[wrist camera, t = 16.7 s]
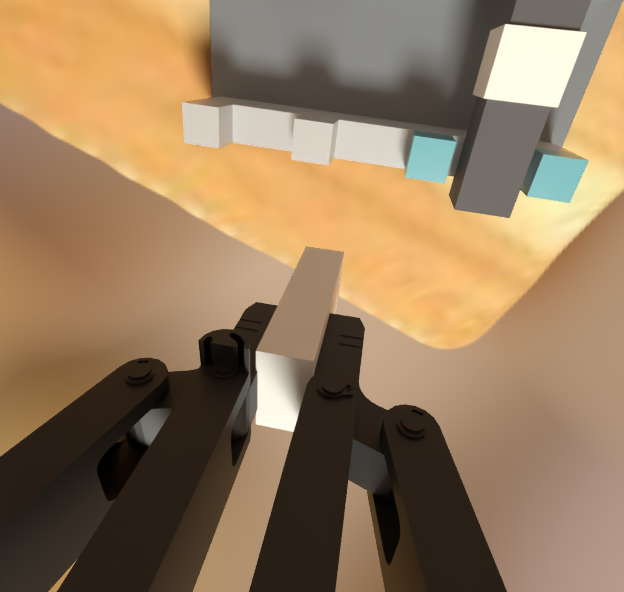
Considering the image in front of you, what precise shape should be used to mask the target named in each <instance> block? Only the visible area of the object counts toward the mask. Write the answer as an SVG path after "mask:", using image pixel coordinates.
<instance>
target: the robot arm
mask: <svg viewBox="0 0 624 592" xmlns="http://www.w3.org/2000/svg"><path fill="white" fill-rule="evenodd" d="M343 255H344V252H340V251H333V250H326V249H320V248H313V247H306V248H305V250H304V252H303V254H302V256H301V258H300V260H299V262H298V265H297V267H296V269H295V271H294V273H293V275H292V277H291V279H290V281H289V283H288V285H287V287H286V289H285V292H284V294H283V296H282V298H281V300H280V302H279V305H278V306H276V305H270V304H264V303H258V302H256V303H255V304H253V305H251V306H250V307H248V308H247V309H246V310H245V311H244V313H243V315H242V316H241V318H240V321H238V323H237V325H236V326H235V328H234V330H229V329H221V330H216V331H212V332H210V333H207V334H205V335H204V336H203V337H202V338H201V339H199V350H200V361H201V366H200V368H199V369H195V370H189V371H175V372H168V370H167V367H166V365H165V364H164V363H163V362H161V361H160V360H158V359H153V358H139V359H136V360H132V361H129V362H127V363H126V364H124V365H122V366H120V367H119V368H117V369H116V370H115V371H114V372H112V373H111V374H110V375H108V376H107V377H105V378H104V379H103V380H102V381H100V382H99V383H98V384H96V385H95V386H94V387H92V388H91V389H90V390H88V391H87V392H86V393H84V394H83V395H82V396H80V397H79V398H78V399H76V400H75V401H74V402H72V403H71V404H70V405H68V406H67V407H66V408H64V409H63V410H62V411H60V412H59V413H58V414H56V415H55V416H54V417H52V418H51V419H50V420H49V421H47V422H46V423H44V424H43V425H42V426H40V427H39V428H38V429H37V430H35V431H34V432H32V433H31V434H30V435H28V436H27V437H26V438H24V439H23V440H22V441H20V442H19V443H18V444H17V445H15V446H14V447H13V448H11V449H10V450H9V451H7V452H6V453H5V454H3V455H2V456H1V457H0V592H48V591H49V590H50V589H51V588H52V586H54V584H55V583H56V582H57V581H58V580H59V579H60V578H61V577H62V576H63V574H64V573H65V572H66V571H67V570H68V569H69V568H70V567H71V566H72V564H73V563H74V562H75V561H76V560H77V561H76V562H75V564H74V566H73V567H72V569H71V570H70V572H69V573H68V575H67V577H66V578H65V580H64V581H63V583H62V584H61V586H60V588H59V589H58V591H57V592H193V589H194V586H195V584H196V581H197V578H198V576H199V573H200V570H201V568H202V565H203V563H204V560H205V557H206V555H207V552H208V550H209V547H210V544H211V542H212V539H213V536H214V534H215V531H216V528H217V525H218V523H219V521H220V518H221V515H222V513H223V510H224V508H225V505H226V502H227V500H228V497H229V494H230V492H231V489H232V487H233V484H234V481H235V478H236V476H237V473H238V471H239V468H240V465H241V463H242V460H243V457H244V455H245V452H246V450H247V447H248V444H249V442H250V437H251V424H252V422H253V419H254V416H255V414H256V424H257V425H263V426H268V427H272V428H277V429H283V430H287V431H292V432H293V437H292V440H291V443H290V447H289V451H288V454H287V458H286V461H285V465H284V468H283V472H282V475H281V479H280V483H279V486H278V490H277V493H276V497H275V501H274V504H273V508H272V512H271V516H270V518H269V522H268V526H267V530H266V533H265V536H264V540H263V544H262V547H261V551H260V554H259V558H258V561H257V565H256V569H255V573H254V576H253V579H252V583H251V587H250V591H249V592H335V589H336V588H335V587H336V580H337V571H338V563H339V553H340V546H341V537H342V529H343V520H344V511H345V503H346V494H347V486H348V480H350V481H352V482H353V483H355V484H357V485H359V486H360V487H362V488H364V489H366V490H367V494H368V500H369V505H370V511H371V516H372V521H373V527H374V533H375V538H376V544H377V549H378V555H379V559H380V565H381V571H382V576H383V582H384V587H385V592H507V591H506V589H505V586H504V583H503V581H502V578H501V576H500V574H499V571H498V569H497V566H496V564H495V561H494V559H493V556H492V554H491V551H490V549H489V547H488V544H487V542H486V539H485V537H484V534H483V532H482V530H481V527H480V524H479V522H478V520H477V517H476V515H475V512H474V510H473V507H472V505H471V502H470V500H469V497H468V495H467V493H466V490H465V488H464V485H463V483H462V480H461V478H460V476H459V473H458V471H457V468H456V466H455V463H454V461H453V458H452V456H451V453H450V451H449V449H448V446H447V444H446V441H445V439H444V436H443V434H442V431H441V429H440V426H439V425H438V423H437V422H436V420H435V419H434V417H432V416H431V415H430V414H429V413H427V412H426V411H425V410H423V409H420V408H418V407H416V406H411V405H399V406H394V407H393V408H391V409H389V410H386V409H384V408H382V407H379V406H378V405H376V404H374V403H372V402H371V401H370V400H369V399H367V398H366V397H365V396H364V394H363V393H362V392H361V390H360V387H359V373H360V365H361V357H362V347H363V339H364V331H365V328H364V326H363V324H362V322H361V320H360V318H356V317H350V316H343V315H338V314H336V310H337V302H338V294H339V287H340V279H341V271H342V263H343Z"/></svg>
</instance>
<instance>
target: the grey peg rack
mask: <svg viewBox="0 0 624 592" xmlns="http://www.w3.org/2000/svg"><path fill="white" fill-rule="evenodd" d="M622 1H623V0H591V3H590V5H589V8H588V11H587V13H586V16H585V19H584V21H583V24H582V27H581V29H580V32H587V33H586V36H585V38H584V41H583V44H582V46H581V49H580V51H579V54H578V57H577V59H576V62H575V64H574V67H573V70H572V72H571V75H570V77H569V80H568V83H567V85H566V88H565V90H564V93H563V96H562V98H561V101H560V103H559V106H558V108H557V107H551V109H550V112H549V114H548V117H547V120H546V122H545V125H544V128H543V130H542V133H541V136H540V138H539V141H538V144H537V146H536V149H535V152H534V154H533V157H532V159H531V162H530V165H529V167H528V170H527V173H526V175H525V178H524V181H523V183H522V186H521V189H520V190H521V191H522V192H523V193H524V194H525V195H526V196H529V197H535V198H541V199H548V200H554V201H561V202H567V203H570V201H571V198H572V196H573V194H574V192H575V190H576V187H577V185H578V183H579V181H580V179H581V177H582V174H583V172H584V170H585V168H586V166H587V163H588V160H586V159H584V158H582V157H580V156H578V155H576V154H574V153H572V152H570V151H568V150H566V149H564V148H562V146H563V143H564V141H565V139H566V136H567V134H568V131H569V129H570V127H571V124H572V122H573V119H574V117H575V115H576V112H577V110H578V107H579V105H580V103H581V100H582V98H583V95H584V93H585V90H586V88H587V86H588V83H589V81H590V78H591V76H592V74H593V71H594V69H595V66H596V64H597V62H598V59H599V57H600V54H601V52H602V50H603V47H604V45H605V42H606V40H607V38H608V35H609V33H610V30H611V28H612V26H613V23H614V21H615V18H616V16H617V13H618V11H619V9H620V6H621V4H622ZM503 3H504V0H210V35H211V80H212V98H207V99H200V100H194V101H187V102H182V113H183V130H184V143H188V144H195V145H201V146H208V147H214V148H221V147H223V146H226V145H228V144H230V143H240V144H246V145H253V146H259V147H266V148H272V149H279V150H285V151H292V155H291V160H297V161H304V162H310V163H317V164H323V165H329V164H330V162H331V161H332V160H333V158H337V159H344V160H350V161H357V162H363V163H370V164H376V165H383V166H389V167H396V168H403V169H405V177H407V178H413V179H419V180H426V181H432V182H439V183H445V181H446V178H447V175H448V176H455V172H456V169H457V165H458V162H459V158H460V154H461V151H462V147H463V144H464V140H465V137H466V133H467V130H468V126H469V123H470V119H471V116H472V112H473V109H474V105H475V102H476V98H477V96H475V95H473V91H474V88H475V84H476V80H477V77H478V73H479V70H480V66H481V62H482V59H483V55H484V52H485V48H486V44H487V41H488V37H489V34H490V30H493V29H495V28H497V24H498V21H499V17H500V14H501V10H502V7H503Z"/></svg>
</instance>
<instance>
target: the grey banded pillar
mask: <svg viewBox="0 0 624 592" xmlns="http://www.w3.org/2000/svg"><path fill="white" fill-rule="evenodd" d="M590 3H591V0H504V3H503V7H502V10H501V14H500V17H499V21H498V24H497V28H495V29H493V30H490V34H489V37H488V41H487V44H486V48H485V52H484V55H483V59H482V62H481V66H480V70H479V73H478V77H477V80H476V84H475V88H474V91H473V95H475V96H477V98H476V102H475V105H474V109H473V112H472V116H471V119H470V123H469V126H468V130H467V133H466V137H465V140H464V144H463V147H462V151H461V154H460V158H459V162H458V165H457V169H456V172H455V176H454V179H453V183H452V186H451V190H450V193H449V196H450V199H451V201H452V204H453V207H454V209H455V210H462V211H468V212H474V213H481V214H487V215H494V216H500V217H506V218H510V215H511V213H512V210H513V207H514V205H515V202H516V199H517V197H518V194H519V191H520V189H521V186H522V183H523V181H524V178H525V175H526V173H527V170H528V167H529V165H530V162H531V159H532V157H533V154H534V152H535V149H536V146H537V144H538V141H539V138H540V136H541V133H542V130H543V128H544V125H545V122H546V120H547V117H548V114H549V112H550V109H551V107H557V108H558V106H559V103H560V101H561V98H562V96H563V93H564V90H565V88H566V85H567V83H568V80H569V77H570V75H571V72H572V70H573V67H574V64H575V62H576V59H577V57H578V54H579V51H580V49H581V46H582V44H583V41H584V38H585V36H586V33H587V32H580V29H581V27H582V24H583V21H584V19H585V16H586V13H587V11H588V8H589V5H590Z"/></svg>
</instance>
